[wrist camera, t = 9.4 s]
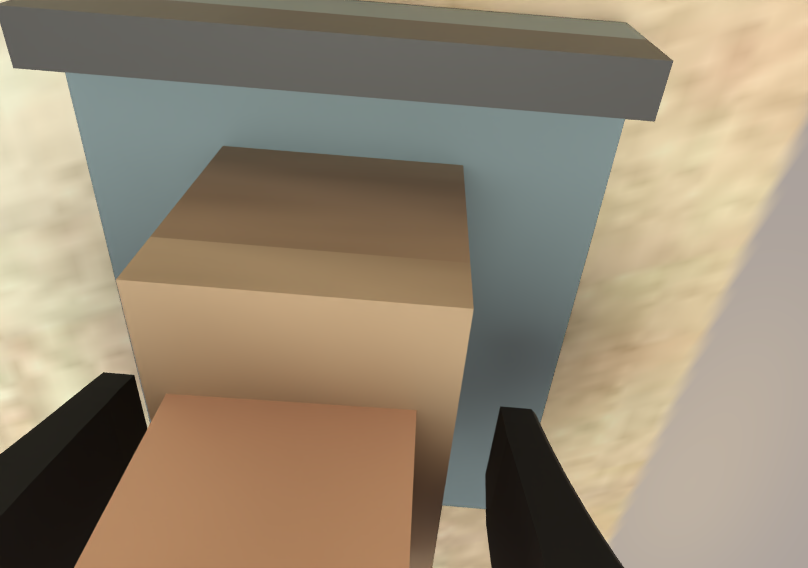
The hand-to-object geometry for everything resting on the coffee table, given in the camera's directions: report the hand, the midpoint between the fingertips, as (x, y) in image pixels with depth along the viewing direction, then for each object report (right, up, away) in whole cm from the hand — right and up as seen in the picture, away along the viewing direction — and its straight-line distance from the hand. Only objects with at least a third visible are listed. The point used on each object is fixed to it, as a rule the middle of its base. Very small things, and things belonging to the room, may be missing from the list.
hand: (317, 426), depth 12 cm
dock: (0, +3, +4) cm, 5 cm away
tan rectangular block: (0, +2, +3) cm, 4 cm away
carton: (0, -1, -1) cm, 2 cm away
